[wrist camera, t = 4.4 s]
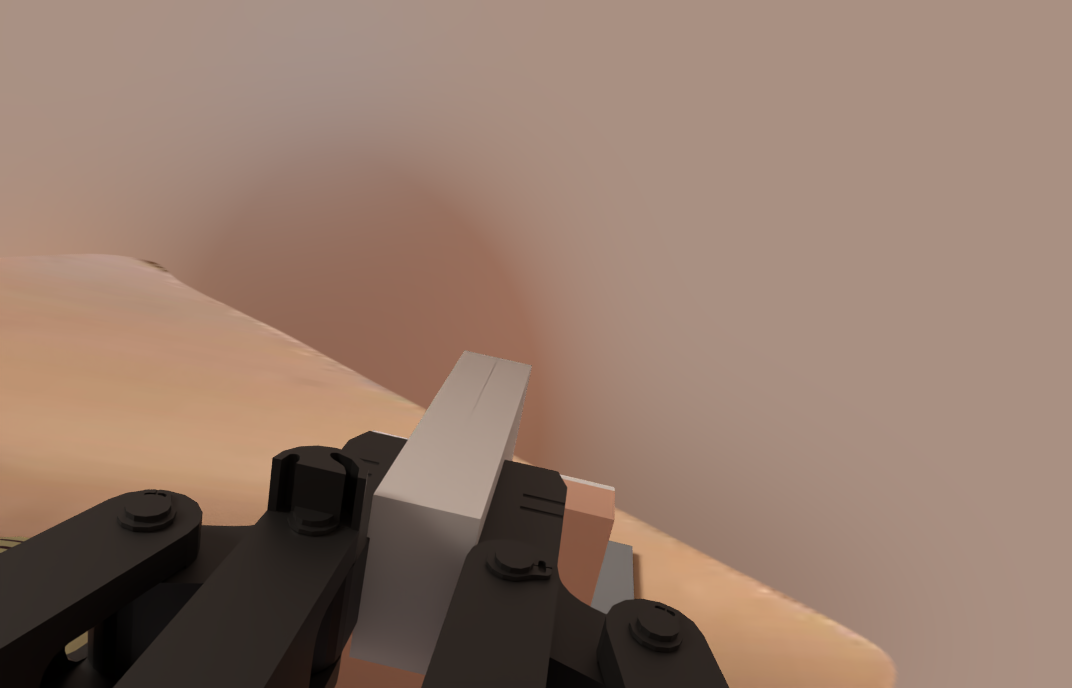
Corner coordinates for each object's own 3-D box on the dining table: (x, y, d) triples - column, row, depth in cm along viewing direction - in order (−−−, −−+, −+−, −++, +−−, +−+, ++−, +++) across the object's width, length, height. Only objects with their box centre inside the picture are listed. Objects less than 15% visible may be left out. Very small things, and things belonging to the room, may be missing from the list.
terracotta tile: (316, 706, 32) (352, 457, 28) (337, 665, 35) (373, 430, 31) (546, 764, 32) (614, 520, 28) (551, 718, 34) (614, 487, 30)
